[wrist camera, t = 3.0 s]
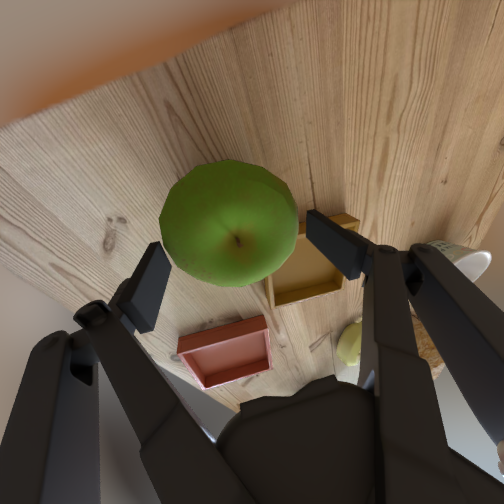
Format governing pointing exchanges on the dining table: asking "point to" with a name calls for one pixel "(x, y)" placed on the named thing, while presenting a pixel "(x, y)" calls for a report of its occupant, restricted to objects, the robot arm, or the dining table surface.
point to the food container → (465, 258)
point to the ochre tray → (306, 271)
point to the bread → (427, 348)
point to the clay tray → (227, 352)
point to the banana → (350, 344)
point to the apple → (229, 223)
